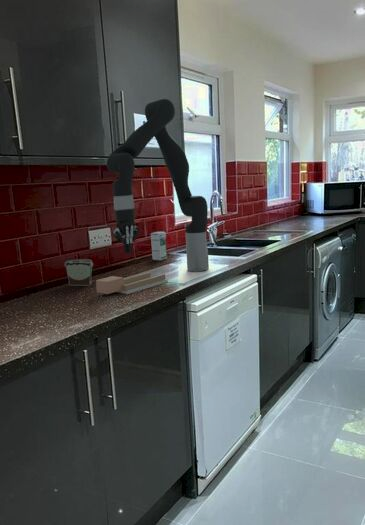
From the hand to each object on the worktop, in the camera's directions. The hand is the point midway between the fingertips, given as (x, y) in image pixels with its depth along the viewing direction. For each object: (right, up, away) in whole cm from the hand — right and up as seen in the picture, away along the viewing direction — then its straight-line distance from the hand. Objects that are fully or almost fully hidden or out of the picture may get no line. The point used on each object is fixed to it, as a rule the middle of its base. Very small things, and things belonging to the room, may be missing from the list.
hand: (128, 253), depth 167 cm
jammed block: (-6, -14, -5) cm, 16 cm away
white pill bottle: (+9, -2, +65) cm, 65 cm away
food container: (-20, -13, +15) cm, 28 cm away
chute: (+3, -13, +5) cm, 14 cm away
